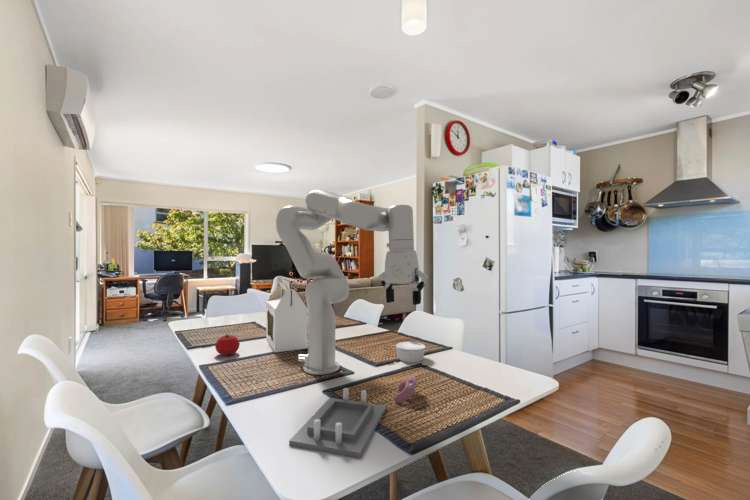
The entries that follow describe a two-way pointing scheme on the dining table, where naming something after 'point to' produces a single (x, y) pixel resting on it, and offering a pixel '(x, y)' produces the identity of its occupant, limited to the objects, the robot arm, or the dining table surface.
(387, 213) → the robot arm
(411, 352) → the ramekin
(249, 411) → the dining table surface
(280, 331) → the gable box
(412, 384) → the pink rounded piece
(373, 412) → the tray
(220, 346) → the tomato
